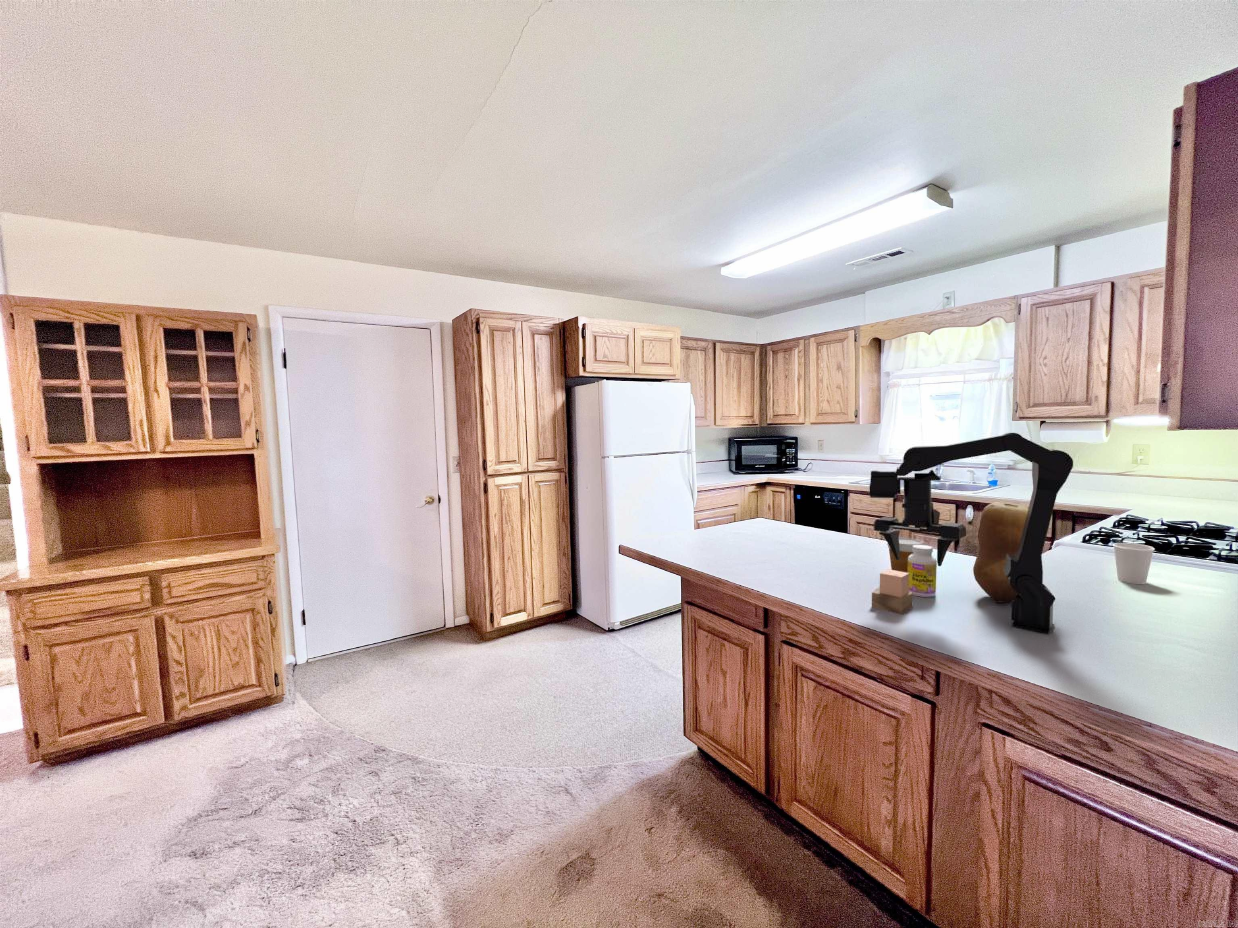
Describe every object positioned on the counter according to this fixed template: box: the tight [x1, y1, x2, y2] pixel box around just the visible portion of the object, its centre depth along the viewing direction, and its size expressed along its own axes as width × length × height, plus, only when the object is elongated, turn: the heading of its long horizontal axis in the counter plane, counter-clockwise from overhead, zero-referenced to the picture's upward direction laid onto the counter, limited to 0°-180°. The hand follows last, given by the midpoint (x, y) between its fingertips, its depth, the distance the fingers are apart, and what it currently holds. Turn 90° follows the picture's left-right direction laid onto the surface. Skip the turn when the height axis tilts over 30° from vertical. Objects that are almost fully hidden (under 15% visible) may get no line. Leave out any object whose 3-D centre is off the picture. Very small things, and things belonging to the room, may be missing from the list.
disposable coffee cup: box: [886, 537, 925, 573], centre depth 148 cm, size 10×10×12 cm
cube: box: [879, 569, 909, 597], centre depth 128 cm, size 5×5×5 cm
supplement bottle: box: [908, 544, 938, 598], centre depth 137 cm, size 7×7×13 cm
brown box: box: [871, 588, 914, 615], centre depth 128 cm, size 7×7×4 cm
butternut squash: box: [972, 501, 1029, 603], centre depth 131 cm, size 14×13×25 cm
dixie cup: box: [1112, 542, 1156, 585], centre depth 145 cm, size 8×8×10 cm
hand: (918, 562), depth 125 cm, fingers open, 9 cm apart
